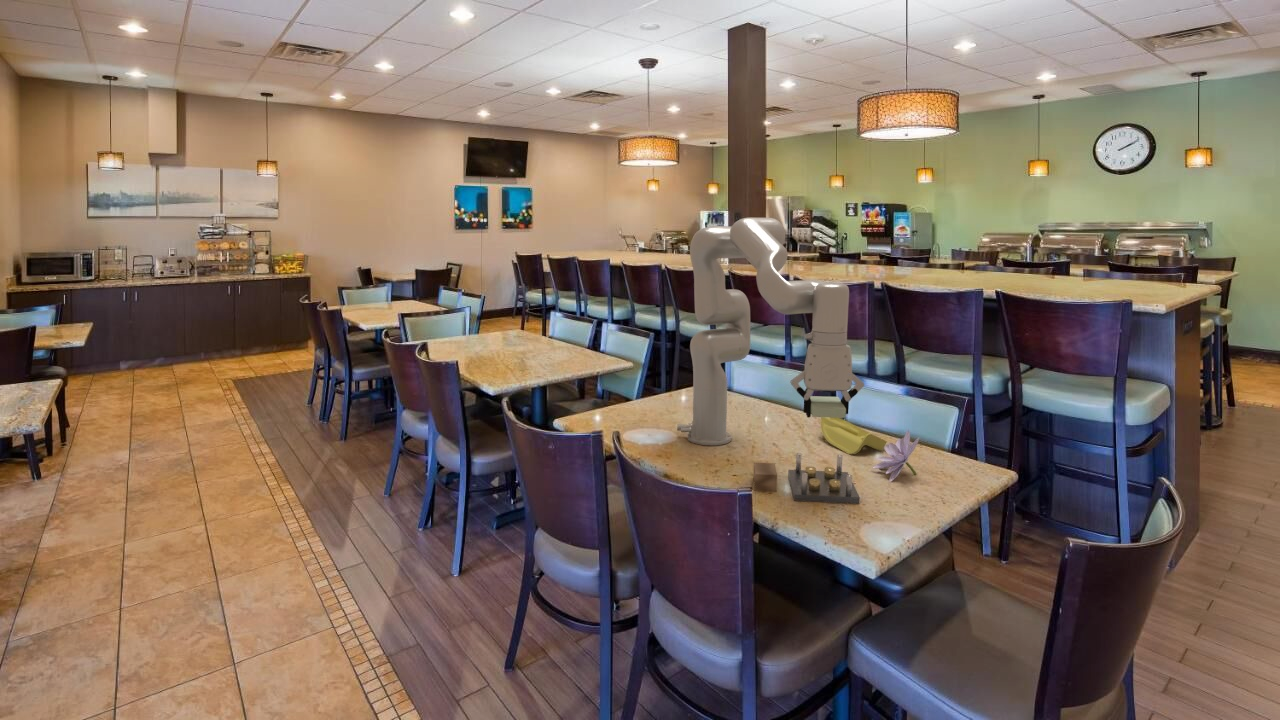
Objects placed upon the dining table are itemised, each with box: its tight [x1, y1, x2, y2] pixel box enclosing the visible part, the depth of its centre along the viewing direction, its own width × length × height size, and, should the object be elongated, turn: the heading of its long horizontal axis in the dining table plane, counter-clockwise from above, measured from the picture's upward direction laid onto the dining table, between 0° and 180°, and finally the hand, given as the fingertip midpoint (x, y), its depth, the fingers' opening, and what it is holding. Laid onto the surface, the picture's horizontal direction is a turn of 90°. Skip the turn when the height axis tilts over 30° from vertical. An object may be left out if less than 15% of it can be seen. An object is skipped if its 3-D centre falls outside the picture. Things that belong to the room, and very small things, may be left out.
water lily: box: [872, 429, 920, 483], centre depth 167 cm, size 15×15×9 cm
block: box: [752, 462, 778, 493], centre depth 161 cm, size 5×8×4 cm, turn 173°
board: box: [810, 395, 847, 419], centre depth 155 cm, size 7×11×2 cm, turn 172°
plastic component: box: [820, 417, 888, 455], centre depth 192 cm, size 20×7×10 cm
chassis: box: [787, 452, 861, 505], centre depth 158 cm, size 14×16×6 cm
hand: (825, 415), depth 155 cm, fingers closed on board, 7 cm apart
